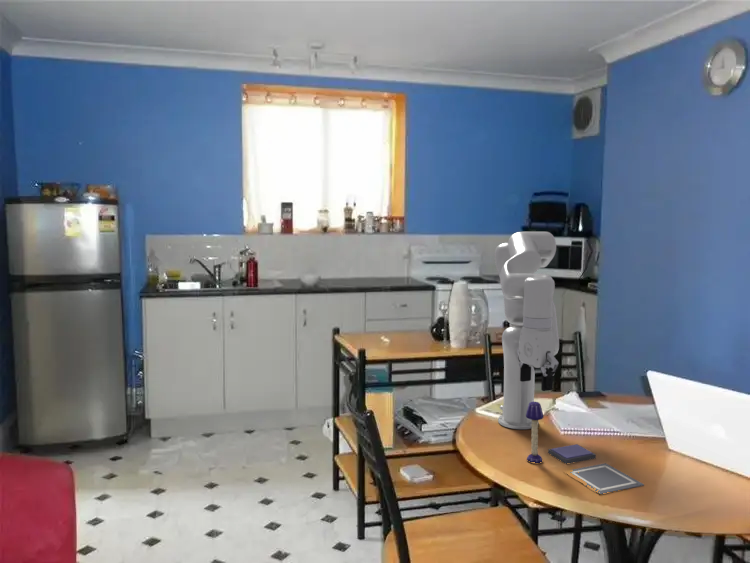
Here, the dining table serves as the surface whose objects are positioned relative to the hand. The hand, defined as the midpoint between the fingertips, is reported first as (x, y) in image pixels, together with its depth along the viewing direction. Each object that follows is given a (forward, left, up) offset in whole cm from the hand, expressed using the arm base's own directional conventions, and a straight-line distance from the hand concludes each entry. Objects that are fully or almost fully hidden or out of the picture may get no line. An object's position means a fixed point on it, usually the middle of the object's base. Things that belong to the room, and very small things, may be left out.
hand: (535, 385), depth 174 cm
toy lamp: (0, 0, -22) cm, 22 cm away
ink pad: (+1, +12, -22) cm, 25 cm away
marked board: (+16, +10, -22) cm, 29 cm away
